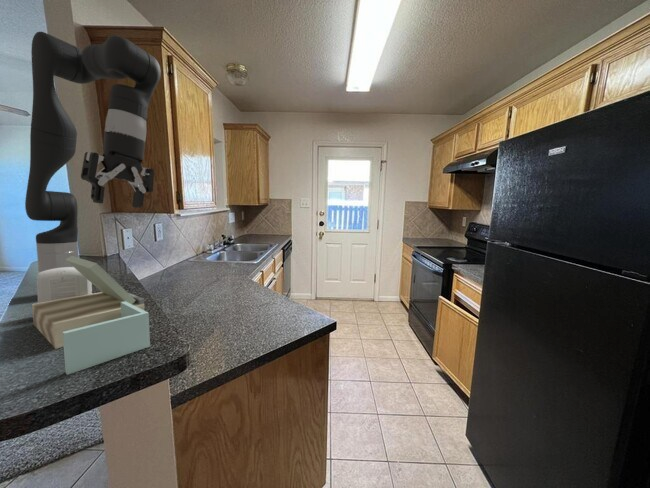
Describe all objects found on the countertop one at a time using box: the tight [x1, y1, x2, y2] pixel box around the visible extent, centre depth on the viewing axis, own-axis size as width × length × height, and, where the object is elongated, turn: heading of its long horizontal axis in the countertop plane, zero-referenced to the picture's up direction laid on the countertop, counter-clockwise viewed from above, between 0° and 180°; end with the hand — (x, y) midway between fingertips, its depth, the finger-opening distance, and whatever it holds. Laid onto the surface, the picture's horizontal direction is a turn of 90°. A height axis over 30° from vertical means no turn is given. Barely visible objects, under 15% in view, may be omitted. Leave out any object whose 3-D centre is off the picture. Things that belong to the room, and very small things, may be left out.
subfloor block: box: [31, 291, 146, 350], centre depth 62 cm, size 20×15×6 cm
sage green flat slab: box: [66, 256, 136, 304], centre depth 63 cm, size 18×12×2 cm
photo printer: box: [36, 267, 93, 303], centre depth 68 cm, size 10×4×12 cm, turn 123°
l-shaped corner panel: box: [63, 301, 151, 376], centre depth 50 cm, size 12×12×8 cm
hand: (118, 205), depth 61 cm, fingers open, 8 cm apart
